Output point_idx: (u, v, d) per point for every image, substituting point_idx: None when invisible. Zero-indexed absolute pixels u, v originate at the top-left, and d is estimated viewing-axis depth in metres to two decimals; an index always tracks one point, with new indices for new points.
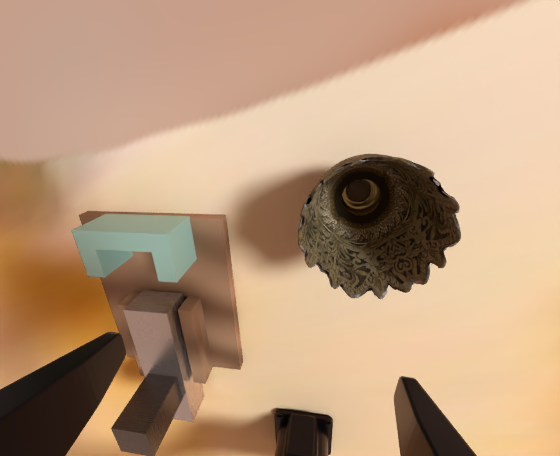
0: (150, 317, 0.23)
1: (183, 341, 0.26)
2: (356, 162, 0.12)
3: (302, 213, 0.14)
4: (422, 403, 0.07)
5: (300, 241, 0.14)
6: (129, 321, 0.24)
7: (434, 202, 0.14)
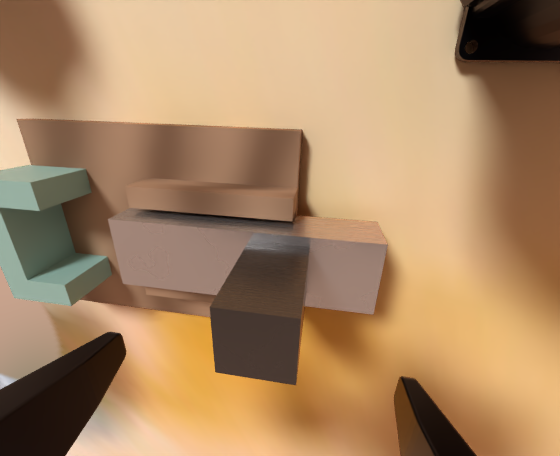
0: (122, 247, 0.15)
1: (199, 217, 0.15)
2: None
3: None
4: (422, 403, 0.07)
5: None
6: (141, 282, 0.16)
7: None
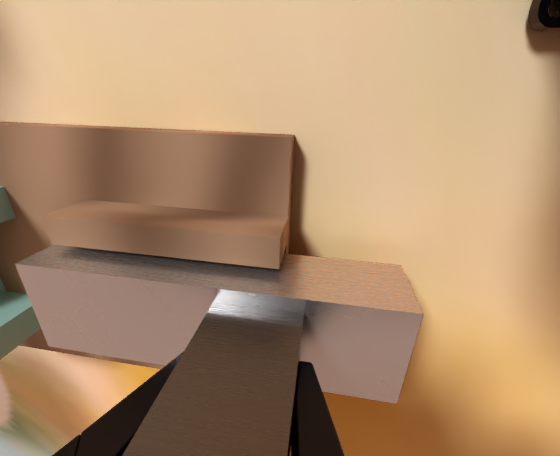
0: (41, 302, 0.11)
1: (149, 258, 0.11)
2: None
3: None
4: (306, 384, 0.07)
5: None
6: (72, 345, 0.11)
7: None
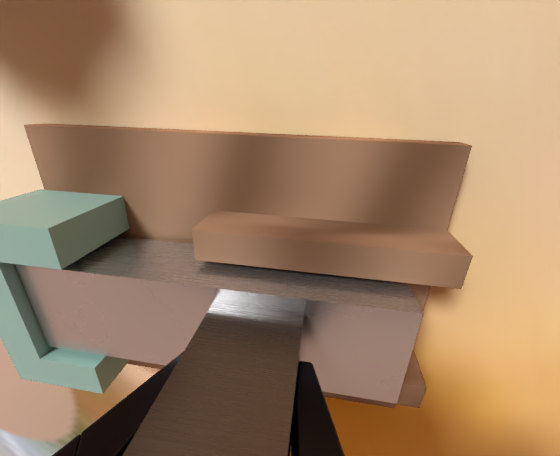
0: (41, 301, 0.11)
1: (149, 258, 0.11)
2: None
3: None
4: (307, 384, 0.07)
5: None
6: (72, 345, 0.11)
7: None
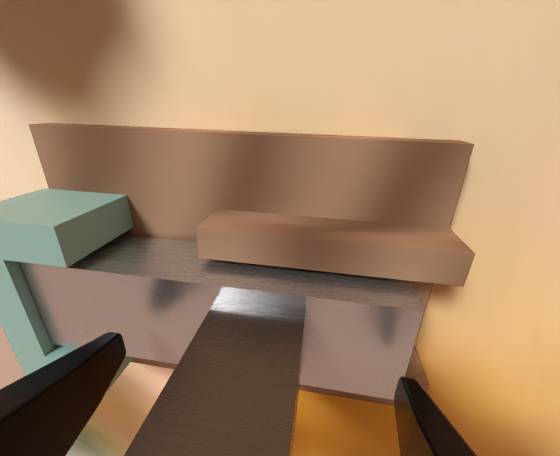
0: (45, 299, 0.11)
1: (152, 256, 0.11)
2: None
3: None
4: (422, 403, 0.07)
5: None
6: (75, 343, 0.11)
7: None
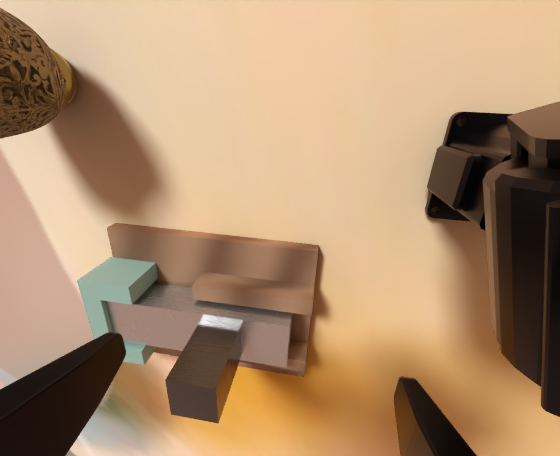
0: (116, 318, 0.22)
1: (170, 296, 0.22)
2: None
3: None
4: (422, 403, 0.07)
5: None
6: (128, 339, 0.22)
7: None
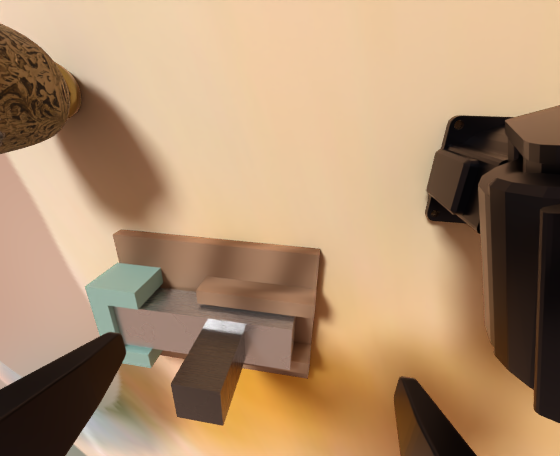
0: (122, 322, 0.22)
1: (174, 301, 0.22)
2: None
3: None
4: (422, 403, 0.07)
5: None
6: (135, 343, 0.23)
7: None
